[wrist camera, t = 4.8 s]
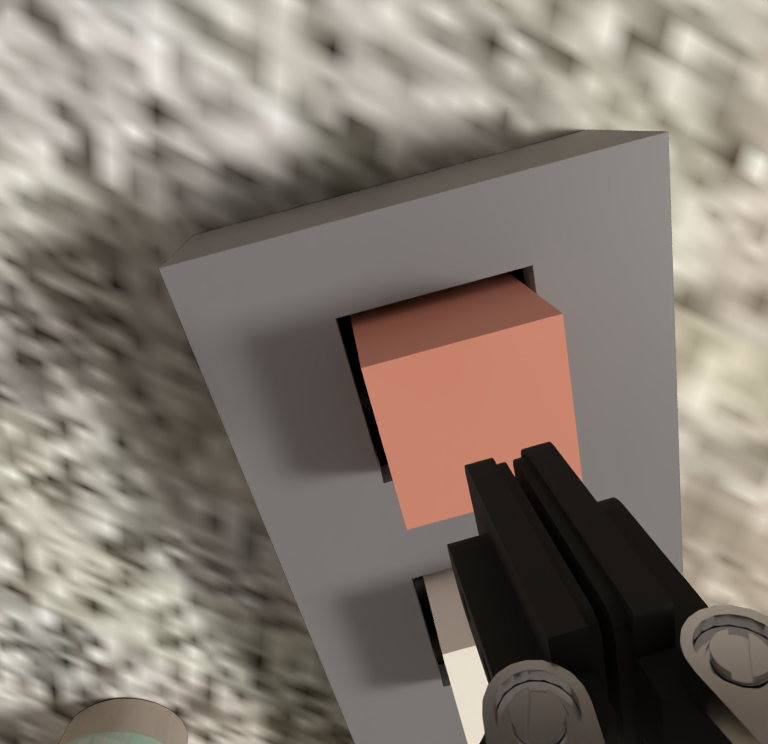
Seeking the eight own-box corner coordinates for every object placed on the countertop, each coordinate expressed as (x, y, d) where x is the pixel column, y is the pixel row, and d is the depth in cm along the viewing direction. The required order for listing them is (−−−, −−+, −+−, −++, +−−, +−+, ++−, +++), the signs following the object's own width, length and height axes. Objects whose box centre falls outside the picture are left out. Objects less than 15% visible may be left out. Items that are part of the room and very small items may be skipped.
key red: (500, 266, 18) (562, 313, 14) (521, 401, 20) (582, 481, 16) (348, 307, 18) (360, 368, 14) (385, 438, 20) (407, 529, 16)
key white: (539, 512, 22) (598, 611, 18) (554, 604, 25) (610, 714, 20) (415, 546, 22) (442, 654, 18) (440, 636, 24) (470, 753, 20)
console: (586, 129, 20) (668, 131, 15) (637, 708, 33) (690, 803, 28) (193, 235, 20) (158, 268, 15) (397, 775, 32) (411, 882, 28)
